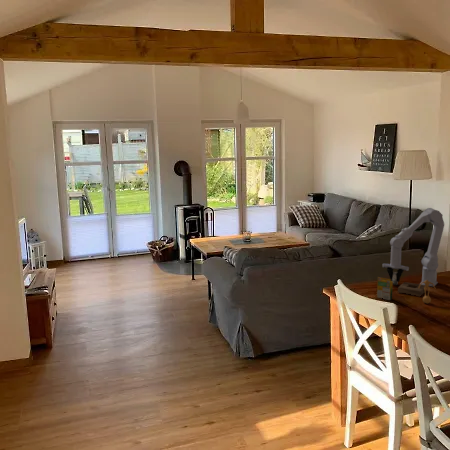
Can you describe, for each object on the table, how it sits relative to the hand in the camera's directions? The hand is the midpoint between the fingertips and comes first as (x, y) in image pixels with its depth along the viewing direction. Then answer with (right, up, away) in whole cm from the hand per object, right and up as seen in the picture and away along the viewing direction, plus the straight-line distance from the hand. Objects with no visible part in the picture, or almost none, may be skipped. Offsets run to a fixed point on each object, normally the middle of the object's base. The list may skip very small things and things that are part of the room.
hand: (394, 280), depth 274 cm
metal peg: (0, -2, 0) cm, 2 cm away
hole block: (+5, -5, -13) cm, 15 cm away
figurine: (+5, -8, -30) cm, 32 cm away
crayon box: (-14, -7, -23) cm, 27 cm away
